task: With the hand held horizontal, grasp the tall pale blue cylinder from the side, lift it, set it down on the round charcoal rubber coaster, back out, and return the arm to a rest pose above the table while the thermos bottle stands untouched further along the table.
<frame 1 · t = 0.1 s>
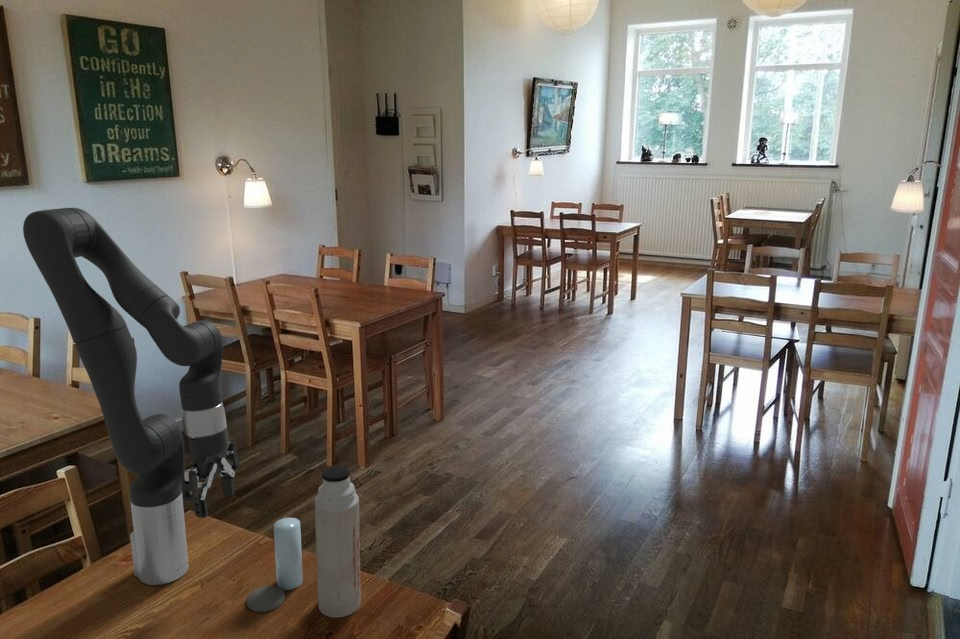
hand: (216, 505, 131), 17 cm above the table, tool pointing down, fingers open, 8 cm apart
coaster: (266, 600, 131), on the table
tall pale blue cylinder: (289, 581, 136), on the table
thermos bottle: (339, 604, 130), on the table
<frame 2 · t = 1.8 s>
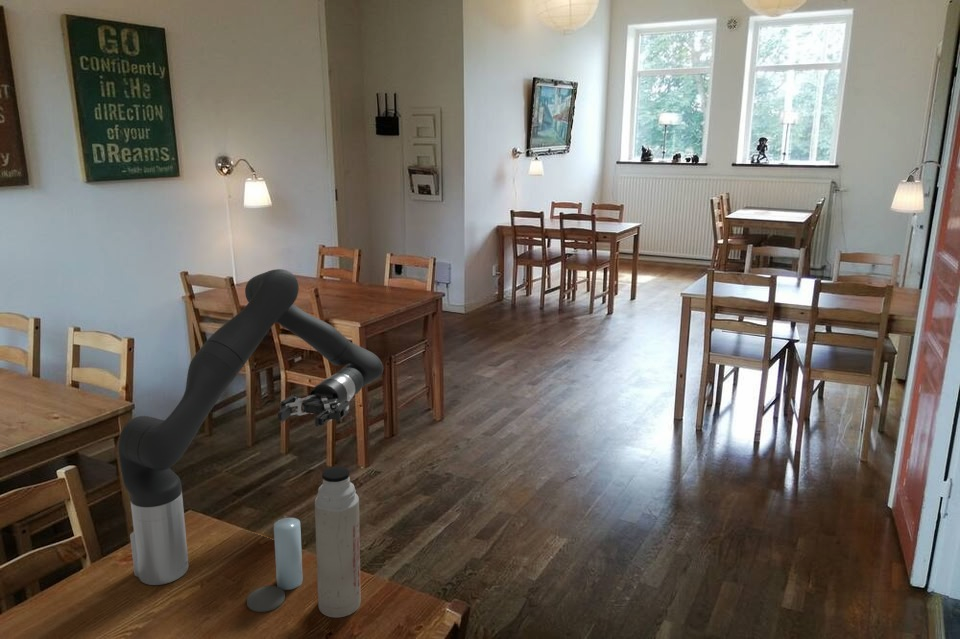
hand: (298, 420, 142), 29 cm above the table, tool horizontal, fingers open, 8 cm apart
nothing on the table moved.
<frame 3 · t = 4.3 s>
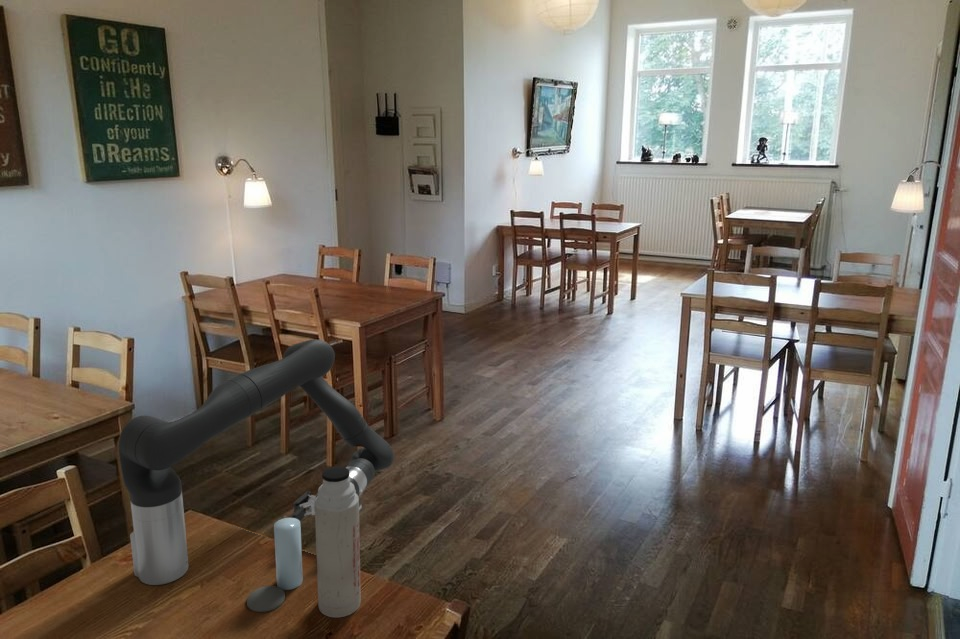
hand: (312, 523, 144), 7 cm above the table, tool horizontal, fingers open, 8 cm apart
nothing on the table moved.
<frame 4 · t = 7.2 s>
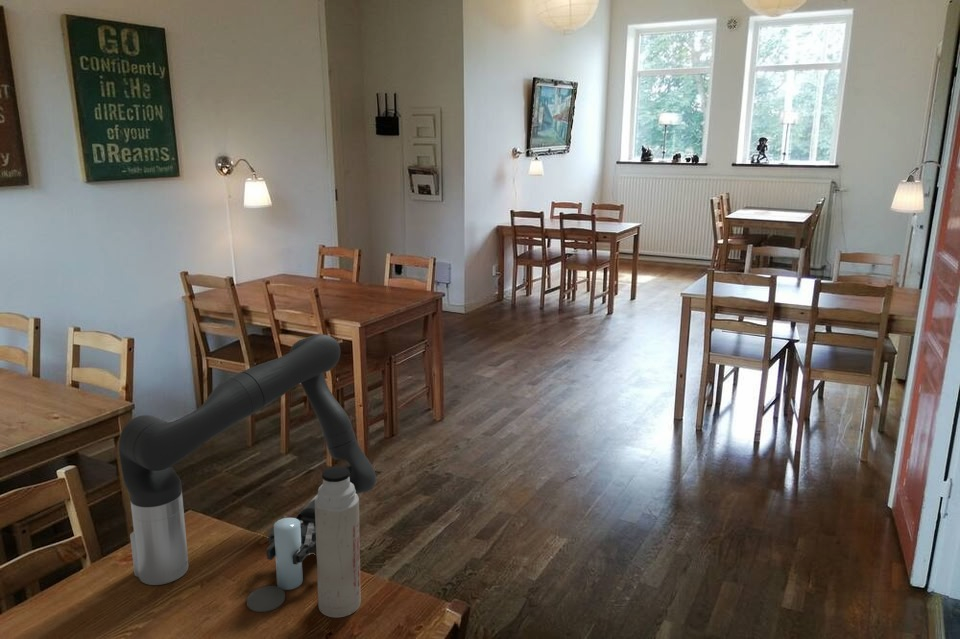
hand: (281, 557, 132), 7 cm above the table, tool horizontal, fingers closed on tall pale blue cylinder, 5 cm apart
tall pale blue cylinder: (289, 581, 136), on the table, touching gripper
everything else where it was.
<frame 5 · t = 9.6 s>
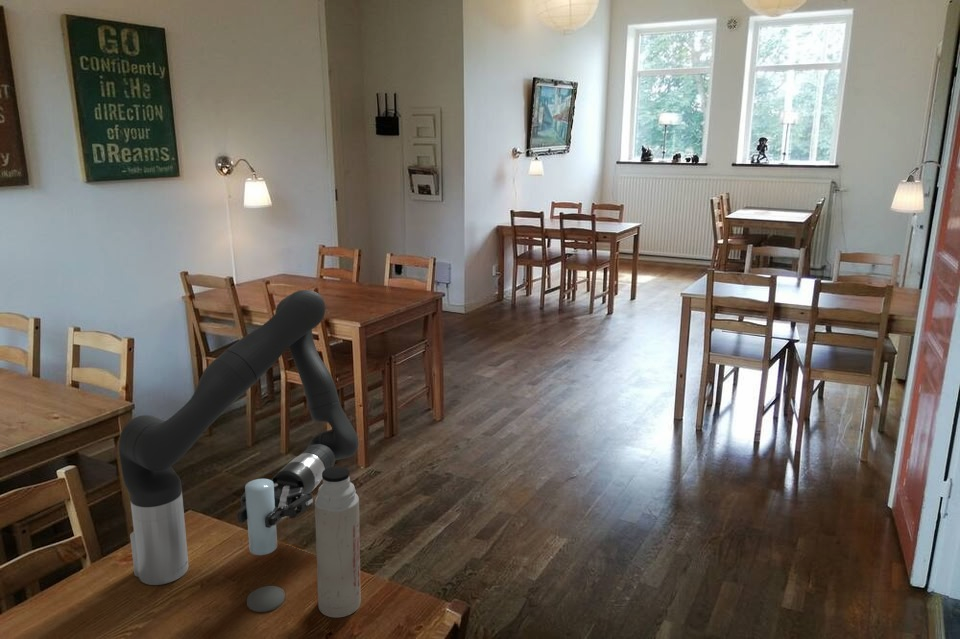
hand: (253, 520, 124), 19 cm above the table, tool horizontal, fingers closed on tall pale blue cylinder, 5 cm apart
tall pale blue cylinder: (263, 547, 128), point 11 cm above the table, touching gripper
everything else where it was.
when the fingers open (9 cm above the table, at t = 12.3 s): tall pale blue cylinder stays where it is, resting on coaster.
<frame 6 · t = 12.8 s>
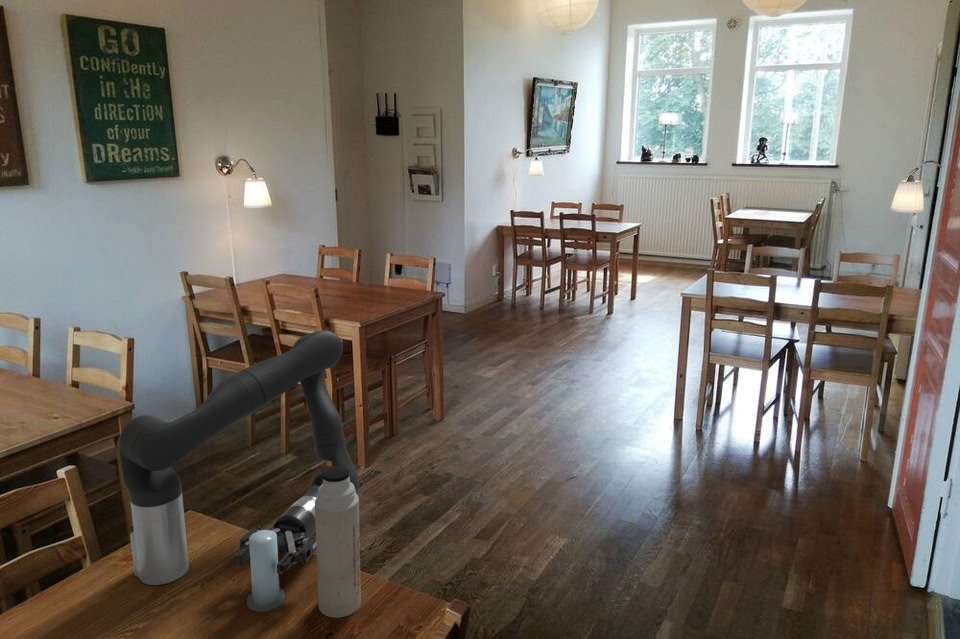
hand: (258, 565, 127), 9 cm above the table, tool horizontal, fingers open, 8 cm apart
tall pale blue cylinder: (266, 596, 131), point 1 cm above the table, touching coaster
everything else where it was.
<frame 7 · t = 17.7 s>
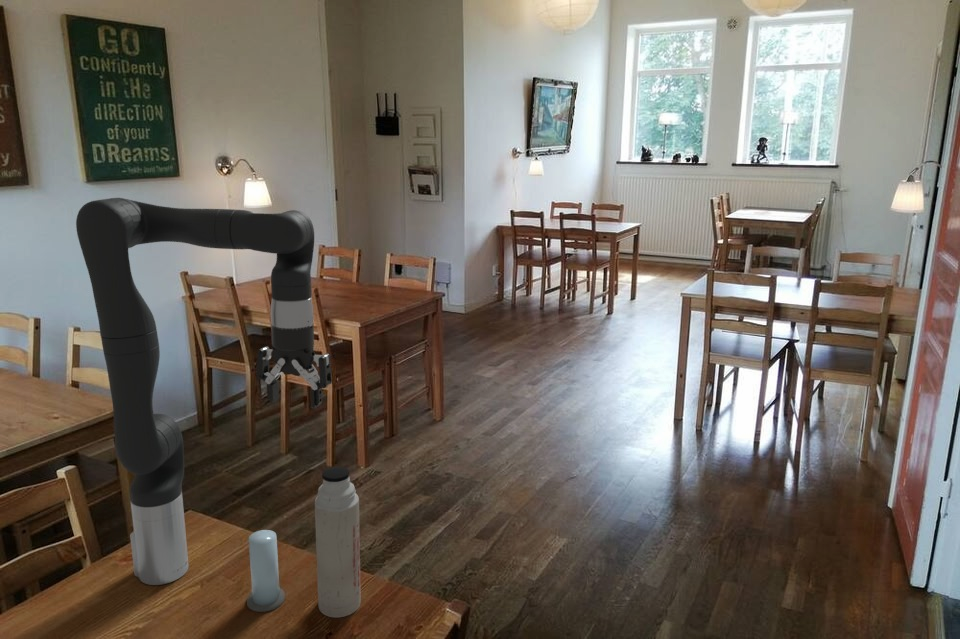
hand: (295, 404, 128), 38 cm above the table, tool pointing down, fingers open, 8 cm apart
nothing on the table moved.
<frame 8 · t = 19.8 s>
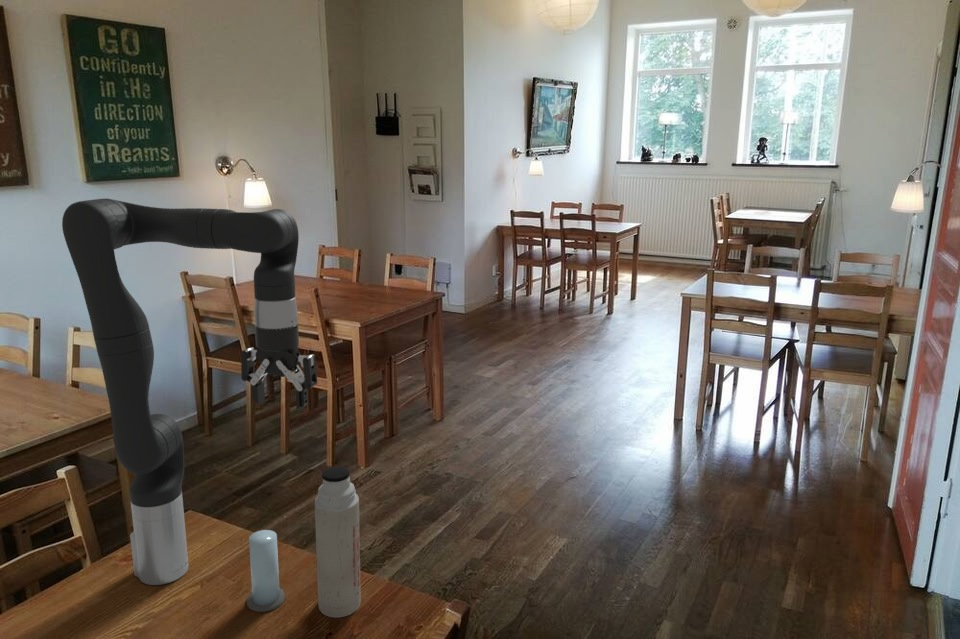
hand: (280, 405, 126), 38 cm above the table, tool pointing down, fingers open, 8 cm apart
nothing on the table moved.
at the end: tall pale blue cylinder inside the target area on the coaster (0.1 cm from its centre), point 0.6 cm above the coaster's base; tall pale blue cylinder tilted 0°; the gripper is holding nothing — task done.
